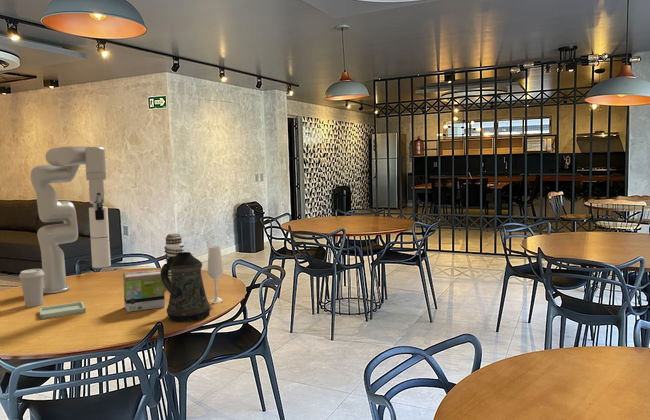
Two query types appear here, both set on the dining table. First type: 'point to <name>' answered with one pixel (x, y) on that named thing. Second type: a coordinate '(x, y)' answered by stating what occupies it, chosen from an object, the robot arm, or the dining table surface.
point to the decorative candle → (173, 247)
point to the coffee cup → (32, 287)
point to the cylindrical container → (99, 239)
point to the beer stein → (185, 288)
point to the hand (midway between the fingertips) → (98, 218)
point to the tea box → (143, 290)
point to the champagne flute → (215, 267)
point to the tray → (62, 310)
